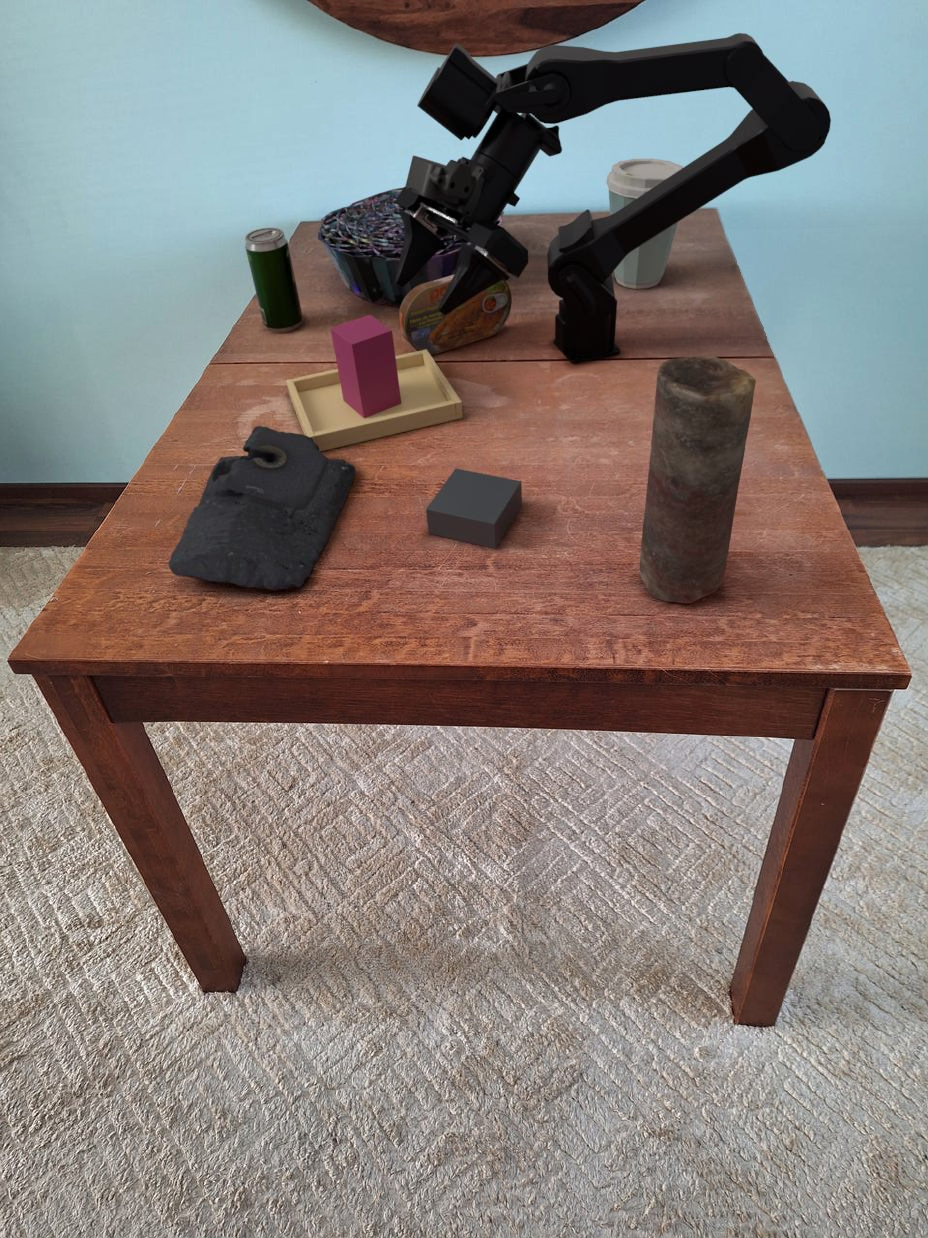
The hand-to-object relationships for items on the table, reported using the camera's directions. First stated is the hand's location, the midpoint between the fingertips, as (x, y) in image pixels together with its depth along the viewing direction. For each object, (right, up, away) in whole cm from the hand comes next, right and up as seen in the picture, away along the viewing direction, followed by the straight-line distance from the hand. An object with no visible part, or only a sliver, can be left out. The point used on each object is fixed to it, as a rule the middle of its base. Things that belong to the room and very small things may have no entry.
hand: (419, 298), depth 96 cm
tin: (+4, 0, +15) cm, 16 cm away
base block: (+6, -26, -12) cm, 29 cm away
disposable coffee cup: (+30, +12, +25) cm, 40 cm away
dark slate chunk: (-15, -26, -10) cm, 32 cm away
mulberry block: (-6, -10, +4) cm, 13 cm away
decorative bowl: (-2, +14, +31) cm, 34 cm away
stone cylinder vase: (+24, -32, -19) cm, 45 cm away
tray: (-6, -11, +5) cm, 13 cm away
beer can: (-20, +4, +22) cm, 30 cm away
